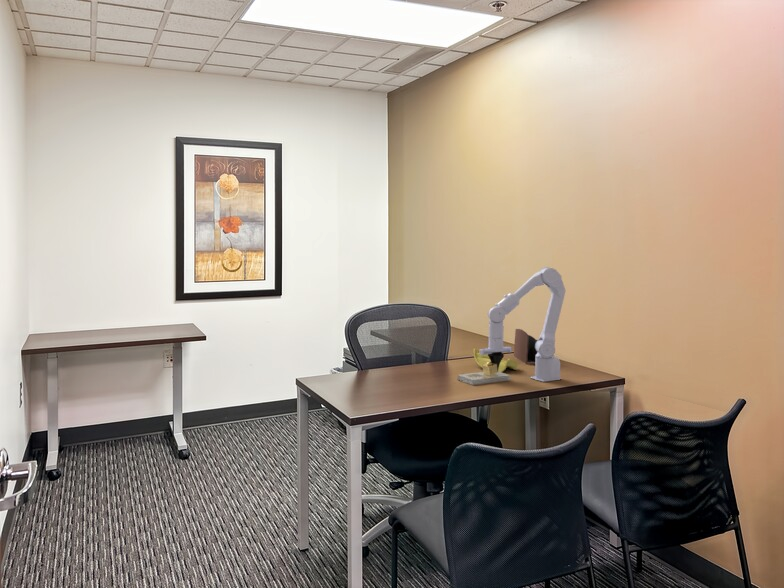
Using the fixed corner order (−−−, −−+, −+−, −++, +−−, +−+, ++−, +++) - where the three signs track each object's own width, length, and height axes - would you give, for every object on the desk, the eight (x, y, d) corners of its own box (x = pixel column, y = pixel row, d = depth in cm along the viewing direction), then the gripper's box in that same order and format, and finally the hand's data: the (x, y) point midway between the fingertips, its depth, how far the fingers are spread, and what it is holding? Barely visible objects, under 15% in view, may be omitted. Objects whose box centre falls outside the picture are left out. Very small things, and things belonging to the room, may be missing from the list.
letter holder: (525, 364, 275) (526, 333, 274) (513, 356, 294) (514, 326, 293) (547, 364, 276) (548, 333, 274) (534, 356, 295) (534, 326, 294)
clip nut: (491, 370, 247) (489, 360, 247) (497, 372, 244) (496, 361, 243) (483, 373, 245) (481, 363, 244) (490, 375, 242) (488, 365, 241)
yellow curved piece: (520, 364, 263) (508, 357, 256) (514, 380, 262) (501, 373, 255) (484, 354, 278) (472, 347, 271) (479, 370, 276) (466, 363, 270)
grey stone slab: (494, 375, 252) (494, 370, 252) (510, 380, 243) (510, 375, 243) (457, 379, 244) (457, 374, 243) (472, 385, 235) (472, 379, 235)
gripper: (504, 334, 252) (503, 367, 253) (474, 337, 245) (474, 371, 246) (515, 337, 245) (514, 370, 247) (485, 339, 238) (485, 374, 240)
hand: (495, 371), depth 246 cm, fingers closed, pressing on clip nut
